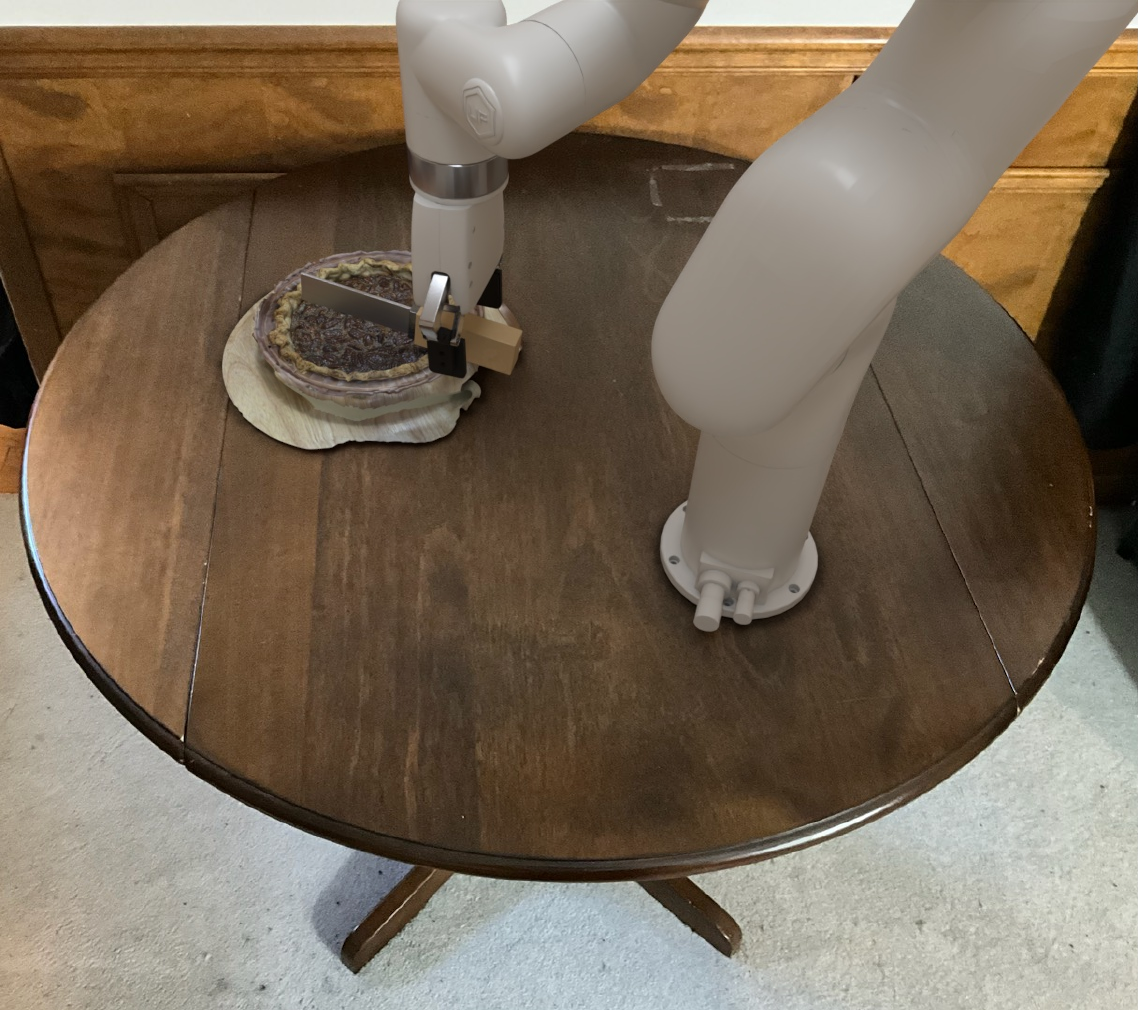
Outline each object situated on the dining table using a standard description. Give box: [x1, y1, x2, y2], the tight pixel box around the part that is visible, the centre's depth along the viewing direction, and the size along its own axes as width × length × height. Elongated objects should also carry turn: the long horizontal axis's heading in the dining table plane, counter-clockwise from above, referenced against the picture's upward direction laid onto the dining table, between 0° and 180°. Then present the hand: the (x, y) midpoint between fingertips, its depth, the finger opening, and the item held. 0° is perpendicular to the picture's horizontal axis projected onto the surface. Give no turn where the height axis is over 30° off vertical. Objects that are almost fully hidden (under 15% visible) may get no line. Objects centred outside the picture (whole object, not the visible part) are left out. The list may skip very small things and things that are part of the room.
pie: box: [221, 249, 524, 450], centre depth 97 cm, size 28×27×5 cm
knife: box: [301, 272, 523, 376], centre depth 91 cm, size 20×2×4 cm, turn 75°
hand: (467, 337), depth 91 cm, fingers open, 9 cm apart
